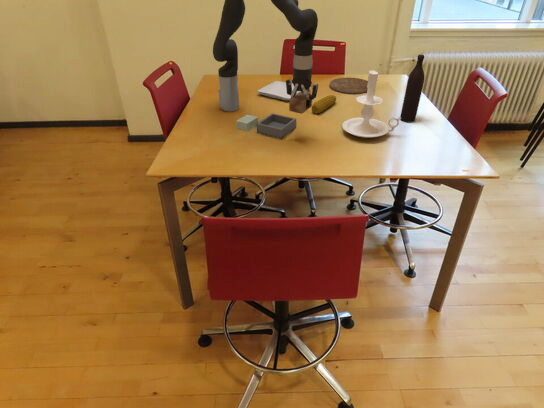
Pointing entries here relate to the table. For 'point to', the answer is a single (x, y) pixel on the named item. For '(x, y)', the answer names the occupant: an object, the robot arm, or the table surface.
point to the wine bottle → (413, 92)
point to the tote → (276, 126)
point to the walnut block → (298, 103)
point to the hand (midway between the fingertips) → (300, 106)
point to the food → (323, 104)
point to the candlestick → (368, 114)
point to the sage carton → (247, 122)
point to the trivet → (349, 85)
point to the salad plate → (276, 90)
